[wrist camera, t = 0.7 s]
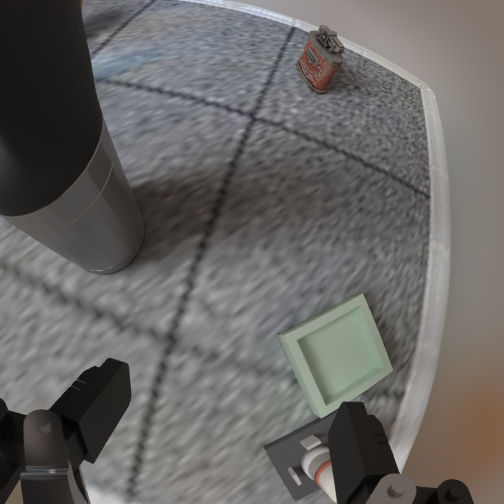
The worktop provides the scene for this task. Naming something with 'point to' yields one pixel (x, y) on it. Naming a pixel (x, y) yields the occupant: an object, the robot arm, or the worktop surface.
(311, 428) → the grey base plate
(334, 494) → the fuse
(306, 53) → the lighter
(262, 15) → the worktop surface
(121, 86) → the worktop surface
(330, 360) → the tray
